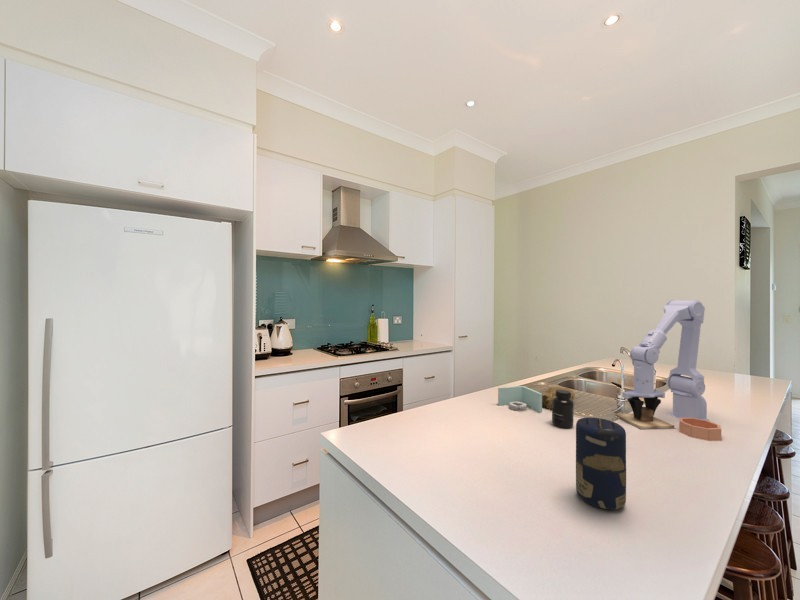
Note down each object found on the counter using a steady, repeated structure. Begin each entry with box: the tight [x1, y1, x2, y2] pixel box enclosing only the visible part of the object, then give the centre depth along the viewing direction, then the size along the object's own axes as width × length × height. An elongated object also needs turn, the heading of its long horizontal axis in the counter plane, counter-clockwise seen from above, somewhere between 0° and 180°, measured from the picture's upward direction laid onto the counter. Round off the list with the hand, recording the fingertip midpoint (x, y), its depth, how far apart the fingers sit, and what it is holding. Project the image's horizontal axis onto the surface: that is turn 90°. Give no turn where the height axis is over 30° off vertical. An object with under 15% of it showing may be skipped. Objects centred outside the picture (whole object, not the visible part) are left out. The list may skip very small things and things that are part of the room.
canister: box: [575, 416, 627, 510], centre depth 73 cm, size 10×10×18 cm
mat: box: [619, 419, 677, 431], centre depth 118 cm, size 13×13×1 cm
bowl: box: [678, 418, 722, 442], centre depth 108 cm, size 10×10×4 cm
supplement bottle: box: [551, 390, 575, 430], centre depth 116 cm, size 7×7×12 cm
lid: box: [614, 406, 675, 430], centre depth 118 cm, size 12×12×5 cm
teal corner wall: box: [497, 385, 543, 414], centre depth 133 cm, size 12×12×8 cm
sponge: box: [542, 386, 576, 410], centre depth 140 cm, size 13×8×20 cm
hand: (643, 417), depth 118 cm, fingers closed on lid, 4 cm apart
